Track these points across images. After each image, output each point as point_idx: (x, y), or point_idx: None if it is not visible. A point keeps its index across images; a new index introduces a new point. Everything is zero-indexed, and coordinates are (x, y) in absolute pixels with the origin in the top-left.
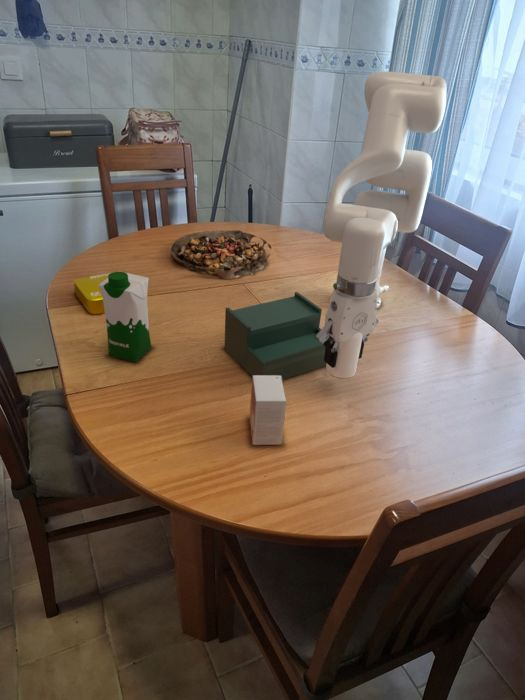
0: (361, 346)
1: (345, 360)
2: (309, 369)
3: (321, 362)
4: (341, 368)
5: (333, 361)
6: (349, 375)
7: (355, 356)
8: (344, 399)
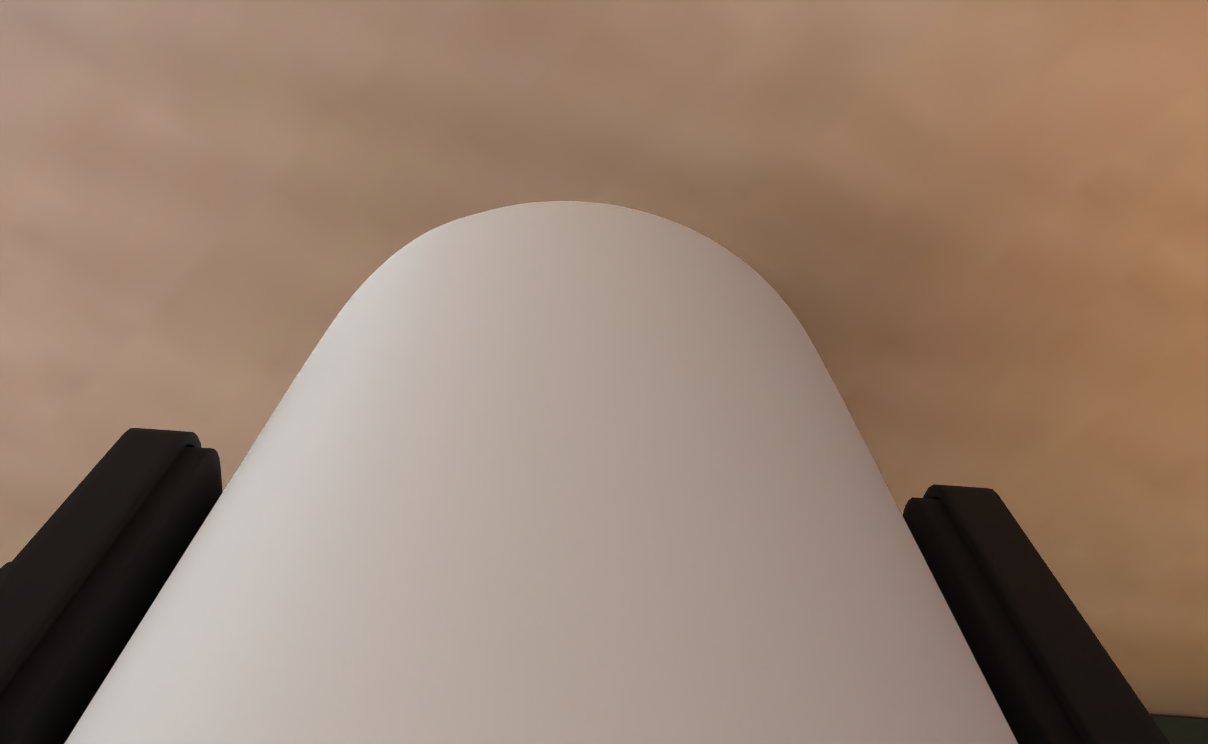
0: (25, 676)
1: (835, 466)
2: None
3: None
4: (821, 383)
5: (1054, 598)
6: (623, 218)
7: (539, 420)
8: (757, 20)
